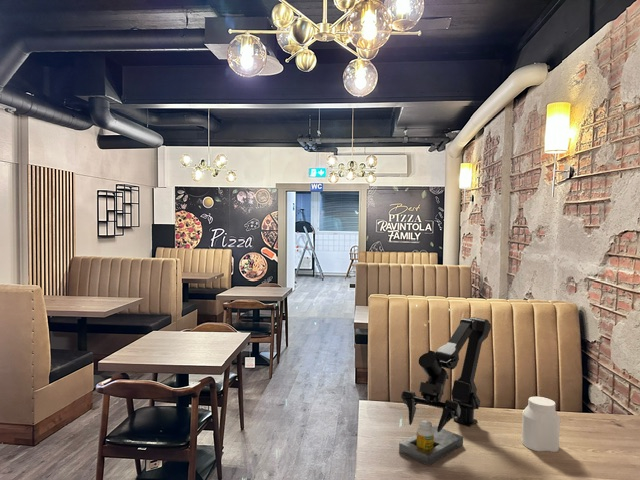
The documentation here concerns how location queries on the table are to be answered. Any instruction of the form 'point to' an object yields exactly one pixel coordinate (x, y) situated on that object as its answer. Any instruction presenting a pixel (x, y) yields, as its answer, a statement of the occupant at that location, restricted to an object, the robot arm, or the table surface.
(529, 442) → the jar
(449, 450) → the grey slotted block
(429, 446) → the supplement bottle
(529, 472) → the table surface
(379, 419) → the table surface
